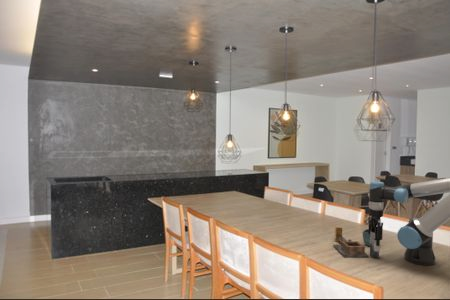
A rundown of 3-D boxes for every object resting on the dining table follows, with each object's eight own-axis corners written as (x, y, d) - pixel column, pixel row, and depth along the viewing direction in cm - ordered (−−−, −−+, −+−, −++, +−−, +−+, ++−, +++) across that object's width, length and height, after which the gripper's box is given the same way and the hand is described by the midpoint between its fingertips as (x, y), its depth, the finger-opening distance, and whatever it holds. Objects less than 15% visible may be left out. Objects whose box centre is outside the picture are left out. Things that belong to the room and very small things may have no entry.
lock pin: (340, 239, 223) (341, 226, 222) (352, 250, 202) (353, 236, 202) (334, 239, 223) (335, 226, 222) (345, 250, 202) (346, 236, 202)
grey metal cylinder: (376, 255, 196) (377, 231, 195) (380, 258, 191) (381, 233, 190) (368, 255, 196) (368, 231, 195) (371, 258, 191) (372, 233, 190)
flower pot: (366, 242, 220) (366, 228, 219) (380, 245, 214) (381, 231, 214) (361, 245, 213) (362, 231, 212) (376, 248, 207) (377, 234, 207)
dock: (355, 246, 210) (355, 237, 210) (368, 257, 191) (369, 247, 191) (333, 246, 210) (333, 237, 210) (344, 257, 191) (344, 247, 191)
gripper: (362, 205, 201) (361, 244, 202) (376, 212, 183) (375, 254, 184) (375, 205, 201) (374, 244, 202) (390, 212, 183) (388, 255, 184)
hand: (374, 249), depth 193 cm, fingers closed on grey metal cylinder, 5 cm apart
